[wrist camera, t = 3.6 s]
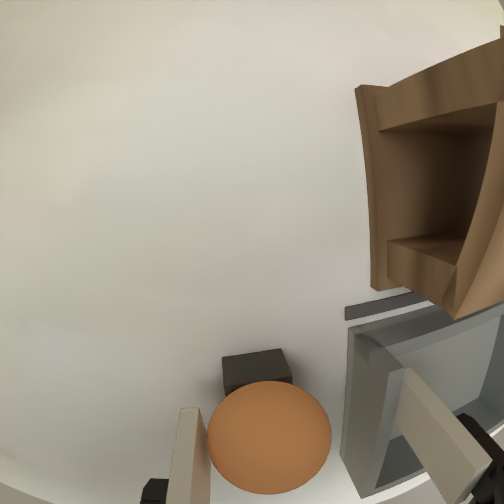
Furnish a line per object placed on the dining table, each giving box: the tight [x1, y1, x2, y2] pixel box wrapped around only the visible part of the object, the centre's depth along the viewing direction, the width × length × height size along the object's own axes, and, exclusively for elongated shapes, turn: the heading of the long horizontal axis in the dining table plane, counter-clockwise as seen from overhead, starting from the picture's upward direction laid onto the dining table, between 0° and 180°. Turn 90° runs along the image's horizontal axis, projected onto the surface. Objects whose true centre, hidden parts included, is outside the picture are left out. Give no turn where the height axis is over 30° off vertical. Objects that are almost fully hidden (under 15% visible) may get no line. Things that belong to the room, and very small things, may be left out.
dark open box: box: [222, 348, 292, 397], centre depth 14 cm, size 3×3×2 cm
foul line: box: [345, 292, 427, 321], centre depth 16 cm, size 14×1×1 cm, turn 96°
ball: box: [207, 381, 331, 494], centre depth 11 cm, size 5×5×5 cm
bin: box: [340, 300, 504, 499], centre depth 15 cm, size 14×11×4 cm
